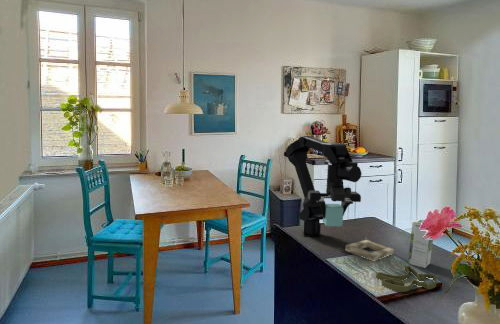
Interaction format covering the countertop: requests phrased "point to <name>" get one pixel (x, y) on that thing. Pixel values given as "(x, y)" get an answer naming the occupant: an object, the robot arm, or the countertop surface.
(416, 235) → the syrup box
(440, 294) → the countertop surface
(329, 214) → the turquoise block
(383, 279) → the cookie cutter
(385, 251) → the socket base
